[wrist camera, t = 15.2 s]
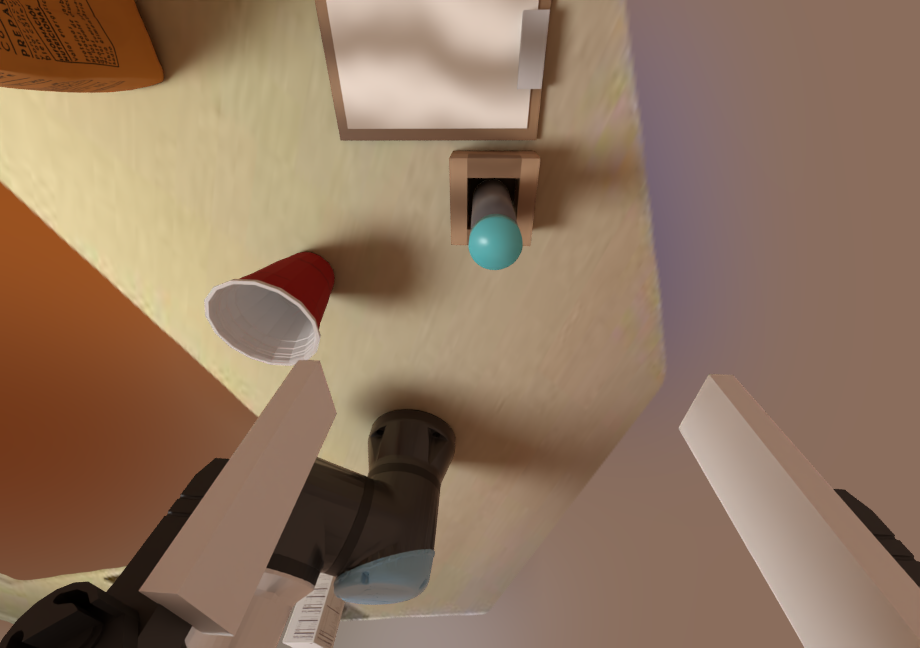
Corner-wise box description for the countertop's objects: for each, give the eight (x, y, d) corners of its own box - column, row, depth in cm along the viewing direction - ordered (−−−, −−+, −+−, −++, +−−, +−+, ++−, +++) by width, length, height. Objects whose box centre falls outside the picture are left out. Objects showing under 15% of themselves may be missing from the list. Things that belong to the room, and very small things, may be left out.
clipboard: (535, 139, 32) (537, 141, 31) (342, 139, 33) (336, 141, 32) (556, -59, 25) (561, -68, 24) (308, -51, 26) (297, -60, 25)
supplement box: (309, 563, 96) (280, 642, 83) (337, 561, 94) (312, 642, 81) (326, 576, 101) (301, 653, 88) (353, 575, 100) (332, 653, 86)
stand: (525, 230, 38) (530, 245, 34) (454, 229, 38) (451, 244, 34) (534, 151, 33) (540, 158, 29) (453, 150, 33) (449, 158, 30)
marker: (507, 209, 36) (520, 270, 24) (472, 209, 37) (468, 269, 24) (509, 173, 34) (525, 218, 22) (473, 173, 34) (468, 218, 22)
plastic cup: (293, 314, 46) (241, 375, 36) (252, 239, 40) (177, 287, 30) (367, 305, 45) (334, 366, 35) (337, 226, 39) (286, 272, 29)
